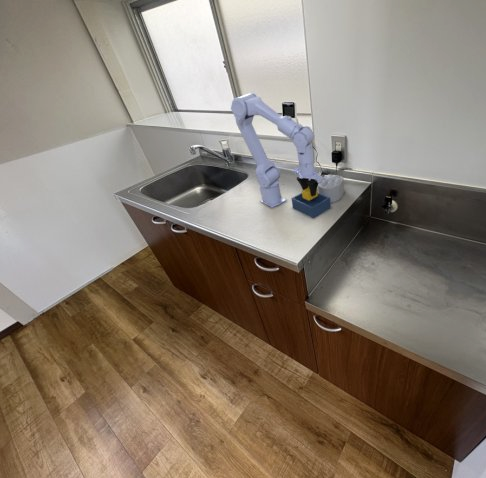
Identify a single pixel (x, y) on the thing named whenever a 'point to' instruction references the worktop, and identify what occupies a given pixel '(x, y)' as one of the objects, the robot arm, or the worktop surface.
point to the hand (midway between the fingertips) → (309, 193)
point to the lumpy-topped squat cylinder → (332, 187)
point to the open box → (311, 205)
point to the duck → (308, 194)
